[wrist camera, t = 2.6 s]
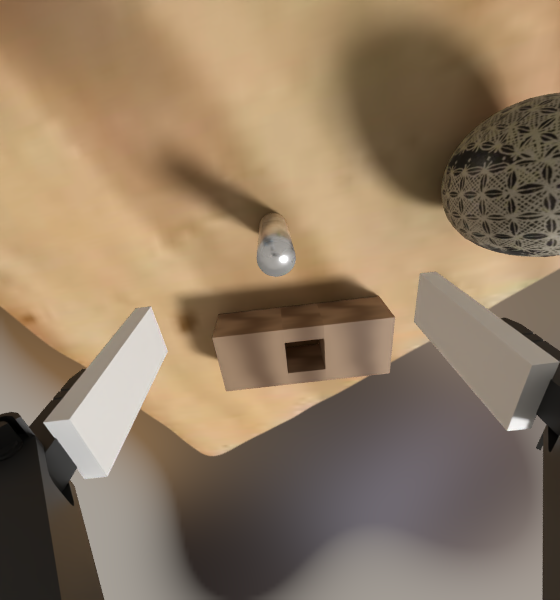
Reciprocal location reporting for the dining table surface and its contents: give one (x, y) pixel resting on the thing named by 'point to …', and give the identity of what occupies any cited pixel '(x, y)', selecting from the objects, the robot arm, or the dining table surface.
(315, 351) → the hole block
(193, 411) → the dining table surface
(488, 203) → the decorative egg
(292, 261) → the steel peg
